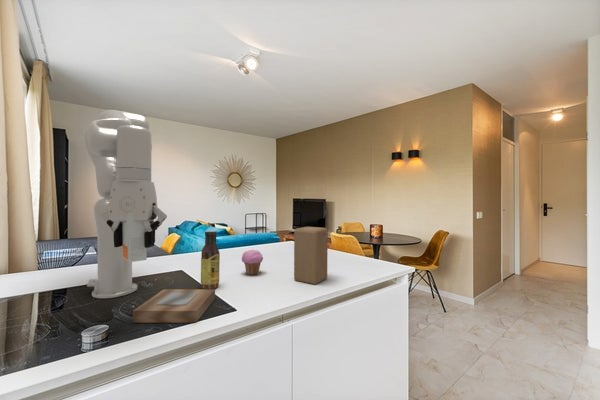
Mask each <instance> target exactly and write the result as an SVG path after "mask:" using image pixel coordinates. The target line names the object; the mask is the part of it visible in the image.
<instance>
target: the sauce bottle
mask: <svg viewBox="0 0 600 400" xmlns="http://www.w3.org/2000/svg"><path fill="white" fill-rule="evenodd" d="M217 235H218V231H217V230H204V236H205V237H204V239H205V240H204V241H205V242H204V246H203V247H202V250H201V258H200V284H201V285H200V287H201V289H217V288H218V287H219V285H220V284H219V283H220V265H221V263H220V260H221V259H220V255H221V254H220V251H219V248H218V244H217Z"/></svg>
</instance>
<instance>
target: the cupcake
mask: <svg viewBox="0 0 600 400" xmlns="http://www.w3.org/2000/svg"><path fill="white" fill-rule="evenodd" d="M263 260H264V257H263V254H262V253H261V251H259V250H255V249H249V250H246V251H244V252H243V253H242V256H241V262H242V263H244V269H245V272H246V274H247V275H249V276H250V275H252V276H253V275H254V276H255V275H259V273H260V267H261V263H263Z"/></svg>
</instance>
